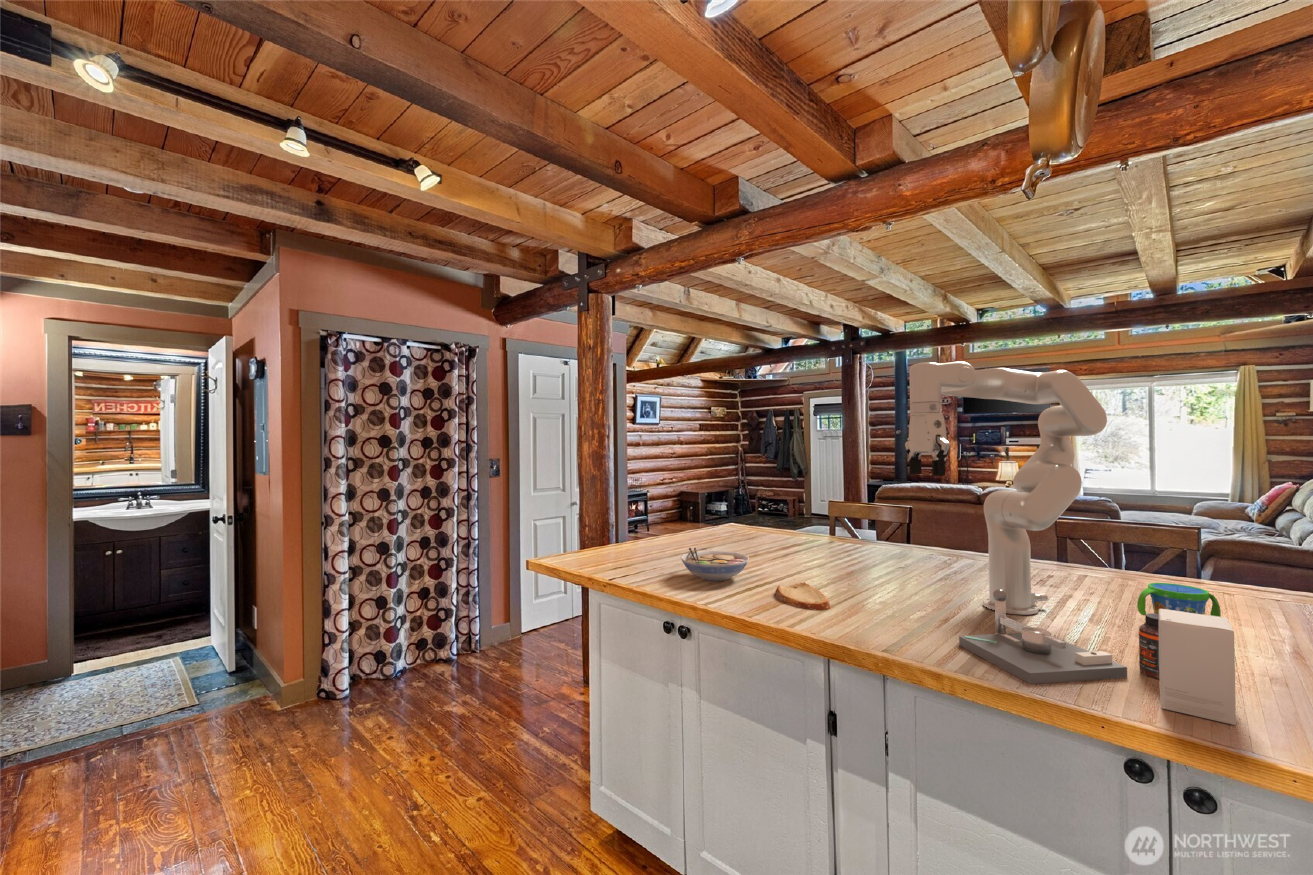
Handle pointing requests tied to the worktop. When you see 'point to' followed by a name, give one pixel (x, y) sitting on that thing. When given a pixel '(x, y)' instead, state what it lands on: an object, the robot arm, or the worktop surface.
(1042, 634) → the metal crank lever
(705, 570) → the ramen bowl
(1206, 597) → the snack cup
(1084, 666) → the stand
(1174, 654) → the supplement box
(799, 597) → the bread slice
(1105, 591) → the worktop surface
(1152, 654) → the supplement bottle
